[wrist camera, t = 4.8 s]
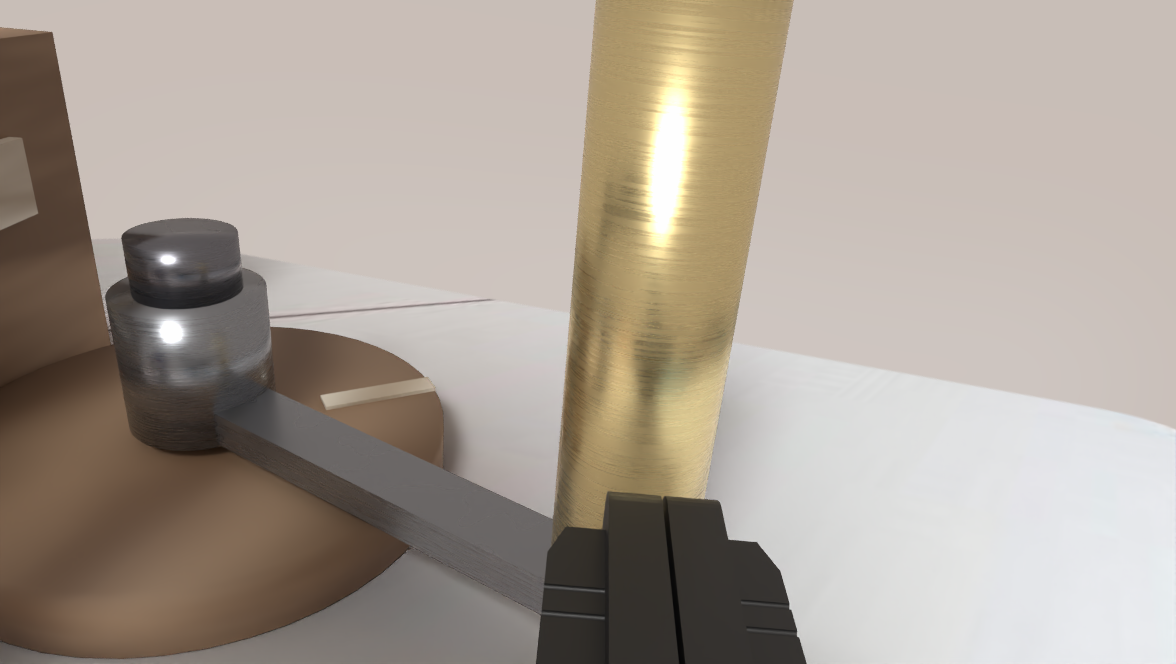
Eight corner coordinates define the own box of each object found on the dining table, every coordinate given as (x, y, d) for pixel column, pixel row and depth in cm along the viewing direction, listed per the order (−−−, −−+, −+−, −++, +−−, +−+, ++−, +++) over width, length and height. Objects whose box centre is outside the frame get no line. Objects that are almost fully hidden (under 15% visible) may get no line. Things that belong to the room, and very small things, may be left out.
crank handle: (107, 458, 24) (-10, -118, 17) (225, 405, 27) (163, -98, 20) (622, 765, 16) (749, -67, 10) (701, 639, 19) (836, -48, 13)
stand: (-317, 628, 18) (-603, 86, 13) (61, 355, 31) (-11, 26, 26) (383, 680, 18) (366, 171, 13) (472, 388, 31) (481, 71, 26)
